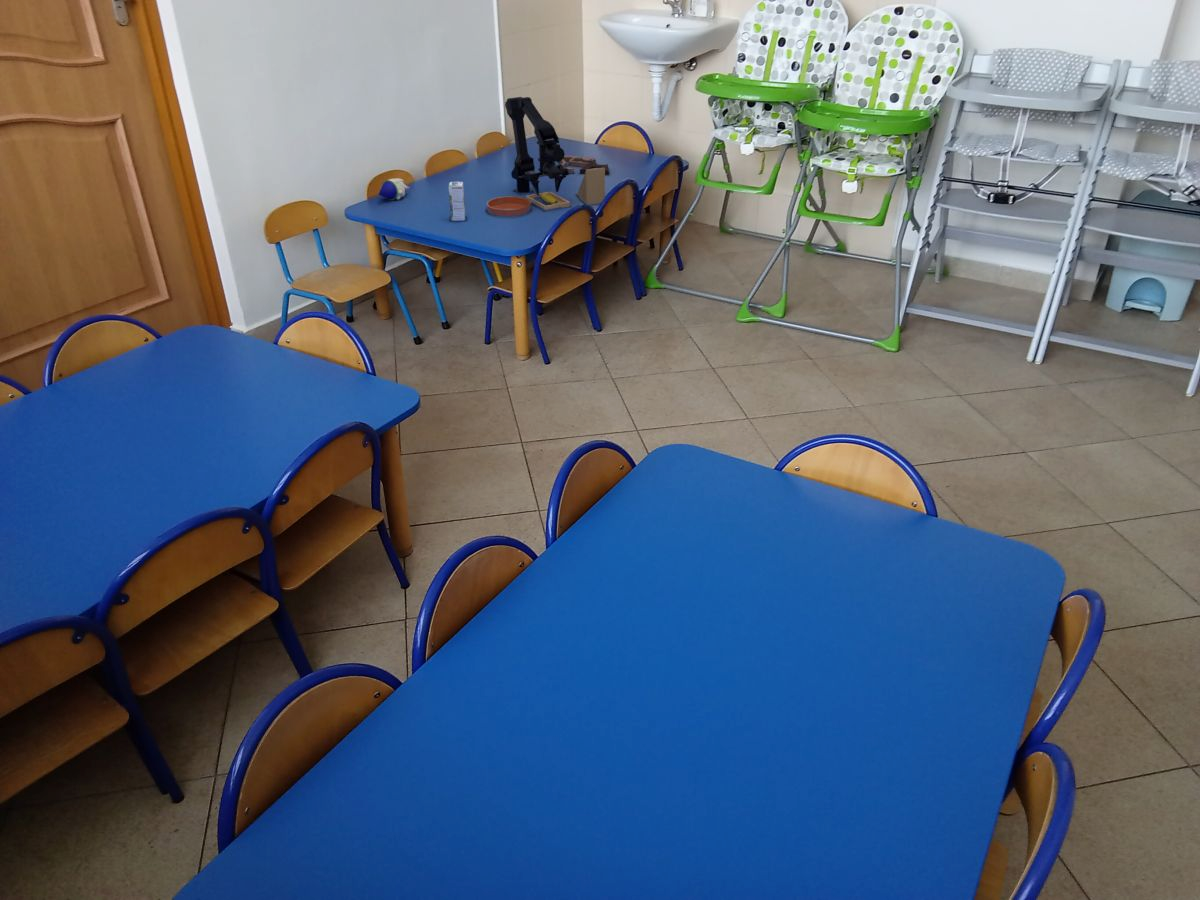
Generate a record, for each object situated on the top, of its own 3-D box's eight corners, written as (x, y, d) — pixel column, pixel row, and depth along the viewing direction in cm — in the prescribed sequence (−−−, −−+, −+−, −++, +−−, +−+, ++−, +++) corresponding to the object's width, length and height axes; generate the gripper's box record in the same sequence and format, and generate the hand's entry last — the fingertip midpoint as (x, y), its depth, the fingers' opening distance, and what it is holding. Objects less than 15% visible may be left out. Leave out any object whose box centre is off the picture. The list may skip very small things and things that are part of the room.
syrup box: (451, 216, 369) (448, 181, 361) (466, 216, 369) (463, 181, 362) (451, 221, 364) (447, 185, 356) (465, 220, 365) (462, 185, 357)
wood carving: (608, 175, 420) (616, 161, 439) (608, 170, 419) (616, 157, 438) (550, 172, 424) (560, 159, 444) (550, 168, 423) (560, 155, 442)
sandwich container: (594, 192, 397) (594, 158, 388) (605, 202, 384) (605, 167, 376) (576, 194, 394) (575, 160, 386) (586, 204, 382) (586, 169, 374)
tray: (525, 200, 388) (525, 195, 387) (550, 195, 393) (550, 191, 392) (544, 211, 375) (544, 206, 374) (569, 206, 380) (569, 201, 379)
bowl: (480, 208, 379) (479, 200, 377) (518, 201, 387) (518, 193, 385) (498, 220, 365) (498, 212, 364) (538, 212, 373) (538, 205, 372)
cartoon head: (411, 199, 398) (384, 210, 383) (395, 185, 399) (367, 196, 383) (418, 183, 393) (391, 194, 377) (402, 170, 394) (374, 180, 378)
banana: (538, 199, 387) (537, 191, 385) (545, 198, 389) (545, 190, 387) (550, 206, 379) (550, 198, 377) (558, 205, 380) (557, 197, 379)
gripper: (535, 164, 363) (536, 202, 372) (575, 157, 371) (575, 195, 380) (522, 158, 371) (524, 195, 380) (562, 151, 379) (563, 188, 388)
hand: (547, 193), depth 382 cm, fingers open, 9 cm apart
